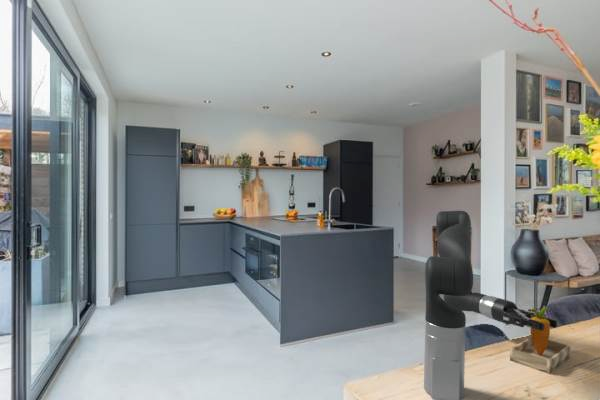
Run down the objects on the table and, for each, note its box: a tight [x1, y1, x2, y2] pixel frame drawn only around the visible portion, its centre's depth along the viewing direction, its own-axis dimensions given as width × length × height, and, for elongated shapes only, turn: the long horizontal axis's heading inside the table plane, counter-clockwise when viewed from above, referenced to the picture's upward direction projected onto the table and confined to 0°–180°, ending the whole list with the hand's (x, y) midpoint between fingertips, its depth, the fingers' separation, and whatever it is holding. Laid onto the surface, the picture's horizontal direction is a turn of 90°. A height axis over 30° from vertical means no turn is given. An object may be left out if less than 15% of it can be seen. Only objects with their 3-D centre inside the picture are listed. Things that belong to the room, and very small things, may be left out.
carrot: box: [530, 305, 551, 355], centre depth 106 cm, size 5×5×15 cm
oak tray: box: [509, 336, 571, 375], centre depth 106 cm, size 18×10×4 cm, turn 127°
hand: (549, 325), depth 104 cm, fingers open, 5 cm apart
